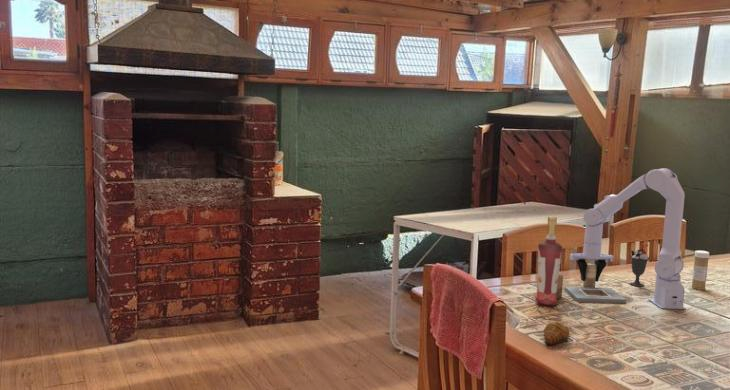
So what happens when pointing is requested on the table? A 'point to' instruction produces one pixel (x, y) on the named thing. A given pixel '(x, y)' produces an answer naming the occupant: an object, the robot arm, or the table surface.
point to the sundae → (638, 264)
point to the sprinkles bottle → (700, 270)
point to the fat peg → (559, 286)
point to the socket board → (607, 297)
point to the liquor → (548, 266)
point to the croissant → (555, 333)
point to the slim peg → (590, 276)
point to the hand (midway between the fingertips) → (589, 280)
